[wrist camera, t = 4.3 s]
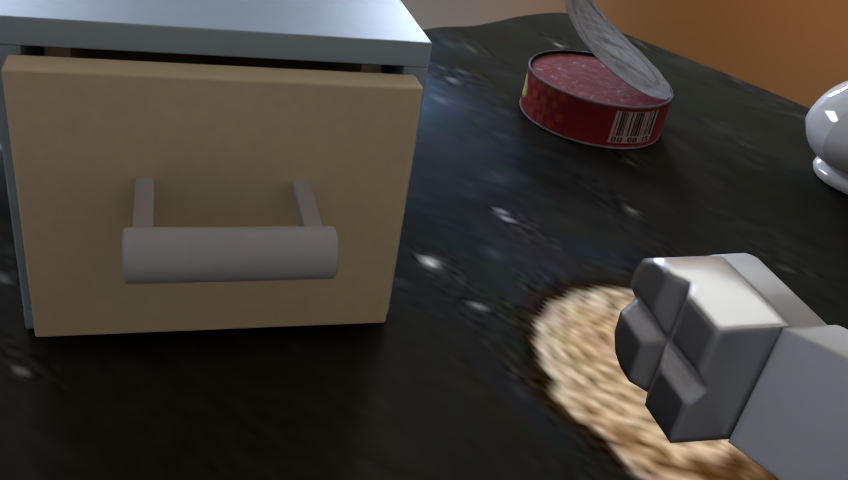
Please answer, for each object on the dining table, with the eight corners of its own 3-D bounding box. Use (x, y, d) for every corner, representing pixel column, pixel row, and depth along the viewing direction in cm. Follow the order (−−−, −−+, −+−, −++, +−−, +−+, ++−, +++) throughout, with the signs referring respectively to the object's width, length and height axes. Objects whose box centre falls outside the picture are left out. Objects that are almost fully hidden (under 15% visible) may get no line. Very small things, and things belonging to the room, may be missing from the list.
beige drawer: (415, 410, 28) (467, 156, 23) (14, 441, 24) (-33, 145, 19) (327, 152, 44) (346, -35, 38) (73, 146, 40) (56, -62, 35)
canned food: (560, 143, 63) (625, 26, 62) (660, 193, 56) (736, 61, 54) (465, 89, 55) (536, -47, 54) (567, 138, 48) (652, -17, 47)
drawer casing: (388, 315, 34) (432, 43, 28) (25, 329, 30) (-17, 14, 24) (328, 143, 47) (349, -70, 40) (67, 137, 43) (46, -101, 36)
